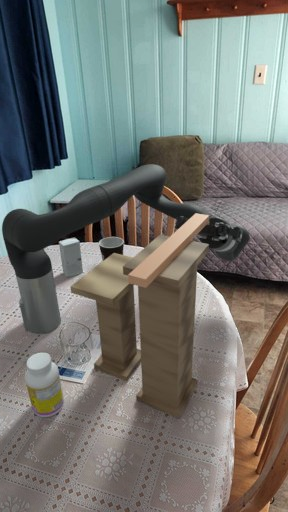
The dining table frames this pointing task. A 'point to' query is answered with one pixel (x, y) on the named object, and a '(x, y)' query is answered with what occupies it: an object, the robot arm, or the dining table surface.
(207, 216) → the slat
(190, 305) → the pedestals
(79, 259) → the skincare box
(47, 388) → the supplement bottle
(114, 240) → the coffee mug
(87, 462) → the dining table surface
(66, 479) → the dining table surface
